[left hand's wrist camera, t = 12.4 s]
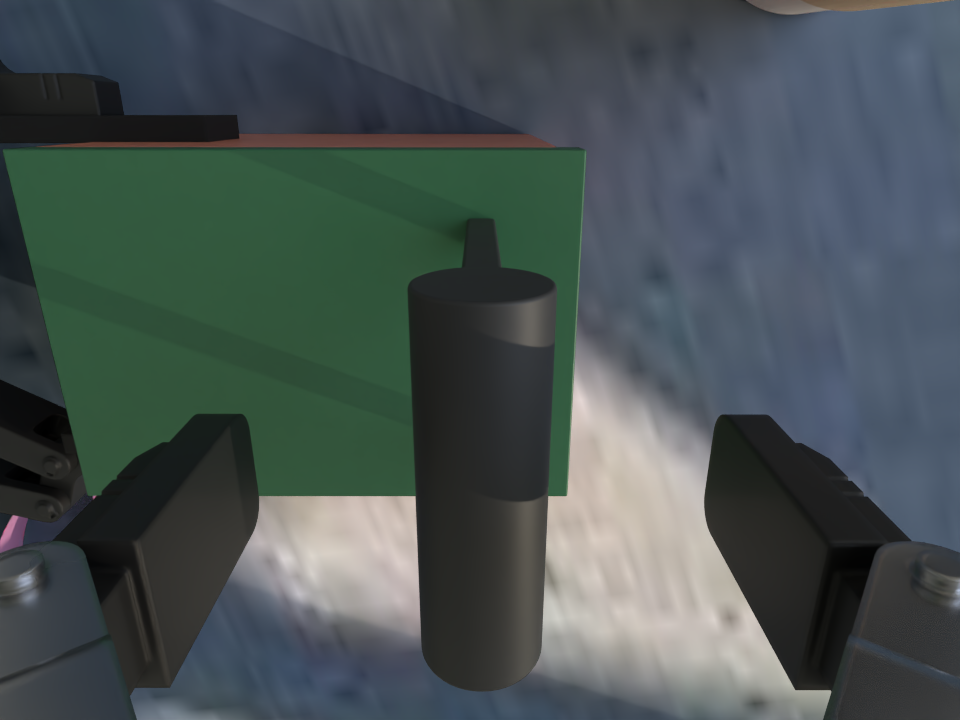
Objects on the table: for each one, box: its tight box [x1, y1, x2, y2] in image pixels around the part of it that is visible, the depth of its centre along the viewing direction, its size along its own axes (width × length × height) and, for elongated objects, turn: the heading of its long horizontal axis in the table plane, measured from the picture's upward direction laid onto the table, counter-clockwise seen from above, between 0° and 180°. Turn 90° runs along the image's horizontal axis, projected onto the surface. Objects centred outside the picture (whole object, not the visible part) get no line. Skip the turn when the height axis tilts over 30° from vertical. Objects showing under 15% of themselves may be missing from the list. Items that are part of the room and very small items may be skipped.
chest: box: [37, 134, 555, 147], centre depth 23 cm, size 13×10×10 cm
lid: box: [3, 147, 586, 691], centre depth 14 cm, size 14×10×9 cm
